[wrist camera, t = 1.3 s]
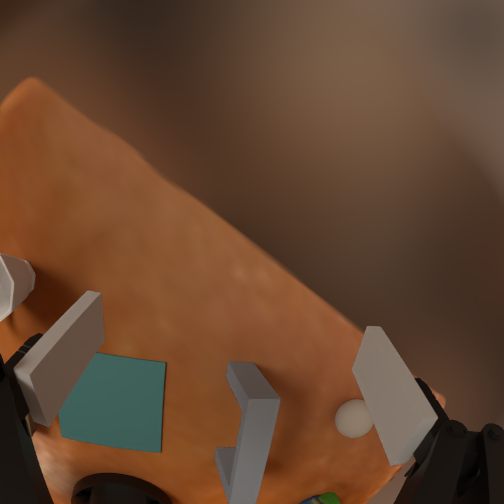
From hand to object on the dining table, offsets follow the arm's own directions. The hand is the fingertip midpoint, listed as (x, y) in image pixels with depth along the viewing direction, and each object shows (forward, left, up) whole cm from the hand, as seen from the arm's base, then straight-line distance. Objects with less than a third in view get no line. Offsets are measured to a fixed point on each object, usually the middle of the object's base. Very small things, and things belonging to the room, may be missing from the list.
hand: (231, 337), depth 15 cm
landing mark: (-16, +9, -19) cm, 26 cm away
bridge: (-16, -6, -19) cm, 26 cm away
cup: (-4, +21, -20) cm, 29 cm away
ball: (-16, -22, -17) cm, 32 cm away
